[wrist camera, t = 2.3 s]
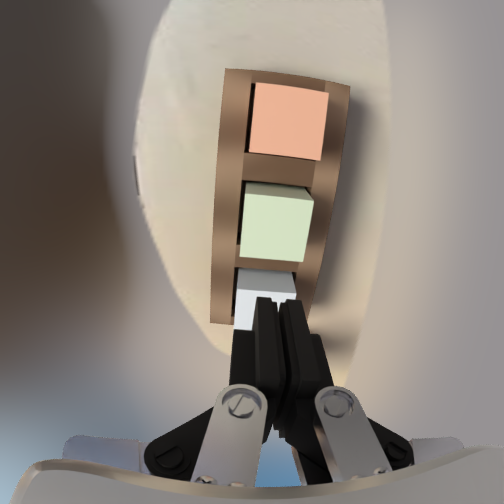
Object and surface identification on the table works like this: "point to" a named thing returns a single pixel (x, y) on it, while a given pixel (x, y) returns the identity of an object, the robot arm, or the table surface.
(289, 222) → the sage button
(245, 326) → the greyblue button
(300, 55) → the table surface
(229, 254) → the button panel
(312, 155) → the terracotta button
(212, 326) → the table surface
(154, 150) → the table surface
